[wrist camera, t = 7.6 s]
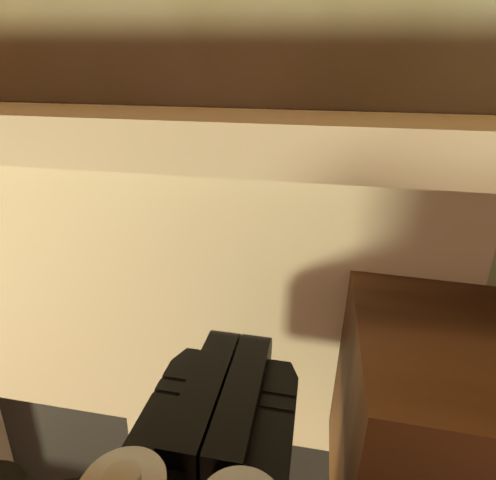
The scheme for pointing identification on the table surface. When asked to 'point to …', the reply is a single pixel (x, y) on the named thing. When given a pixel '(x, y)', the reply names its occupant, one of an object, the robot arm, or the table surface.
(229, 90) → the table surface
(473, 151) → the track
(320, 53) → the table surface
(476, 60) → the table surface
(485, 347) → the walnut block
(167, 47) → the table surface
